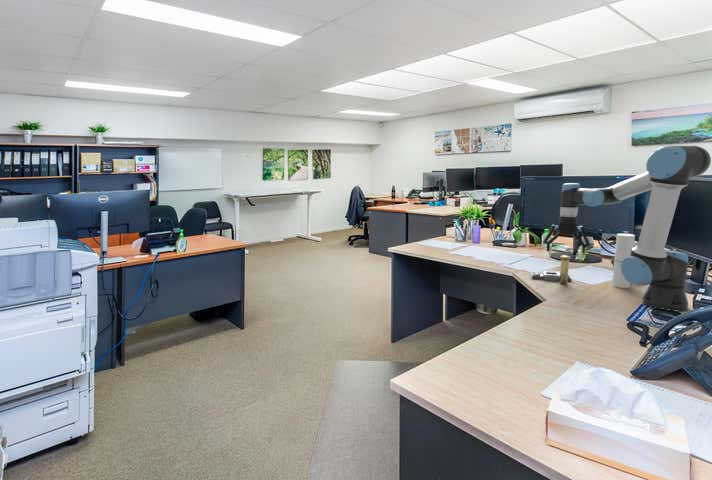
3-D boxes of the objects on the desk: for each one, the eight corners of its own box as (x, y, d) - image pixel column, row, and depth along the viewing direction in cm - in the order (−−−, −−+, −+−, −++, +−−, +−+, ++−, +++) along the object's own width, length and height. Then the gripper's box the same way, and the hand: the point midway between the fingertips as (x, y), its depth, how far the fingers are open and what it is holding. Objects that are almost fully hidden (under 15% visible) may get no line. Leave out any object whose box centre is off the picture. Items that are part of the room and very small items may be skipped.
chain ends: (569, 278, 213) (570, 272, 213) (571, 282, 207) (572, 276, 206) (531, 275, 219) (532, 270, 219) (532, 279, 213) (532, 273, 212)
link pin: (569, 283, 204) (572, 256, 202) (565, 285, 201) (568, 257, 199) (560, 281, 207) (562, 255, 205) (556, 283, 205) (558, 256, 202)
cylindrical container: (608, 284, 202) (613, 234, 197) (619, 283, 204) (624, 233, 199) (621, 288, 195) (626, 236, 190) (633, 287, 197) (638, 235, 192)
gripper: (596, 215, 198) (592, 258, 202) (539, 213, 206) (536, 255, 210) (599, 217, 191) (595, 262, 195) (540, 215, 199) (537, 258, 203)
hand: (564, 258), depth 202 cm, fingers open, 13 cm apart
